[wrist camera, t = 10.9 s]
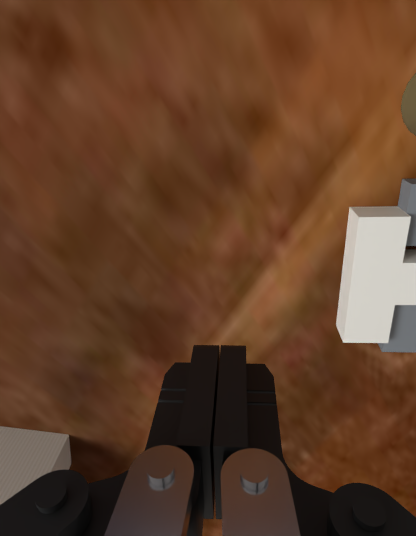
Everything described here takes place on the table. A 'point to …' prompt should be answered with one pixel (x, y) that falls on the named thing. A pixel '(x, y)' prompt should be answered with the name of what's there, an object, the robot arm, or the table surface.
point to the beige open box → (29, 457)
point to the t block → (375, 273)
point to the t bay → (405, 316)
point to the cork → (409, 105)
